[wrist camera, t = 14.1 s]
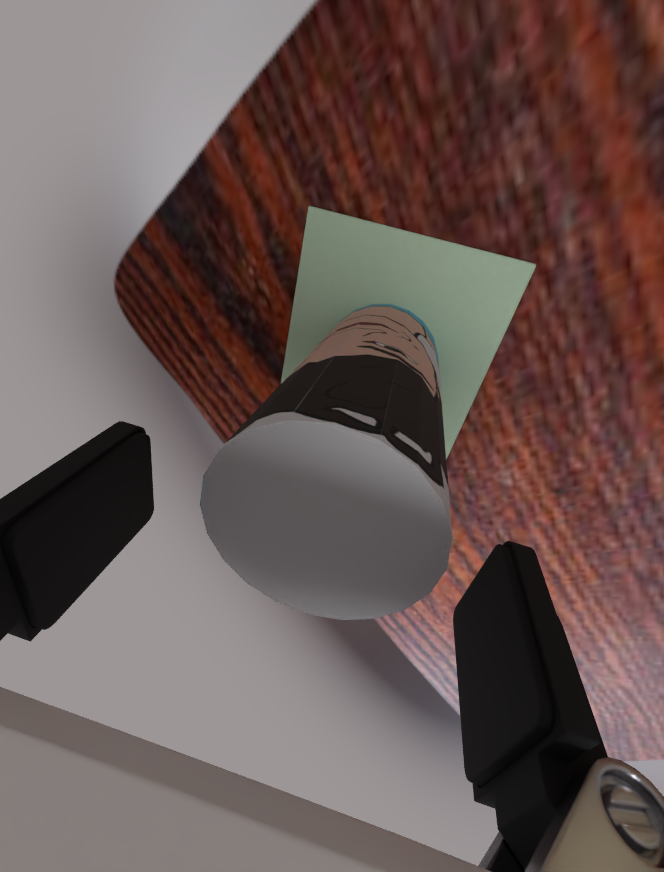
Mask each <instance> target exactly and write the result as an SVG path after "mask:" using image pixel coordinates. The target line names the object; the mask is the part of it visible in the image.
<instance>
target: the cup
mask: <svg viewBox="0 0 664 872" xmlns="http://www.w3.org/2000/svg"><path fill="white" fill-rule="evenodd" d="M200 506H201V510H202V514H203V518H204V522H205V526H206V530H207V534H208V535H209V537H210V538H211V540H212V542H213V543H214V545H215V547H216V548H217V550H218V551H219V553H220V555H221V557H222V558H223V560H224V561H225V562H226V563H227V564H228V565H229V566H230V567H231V568H232V569H233V570H234V571H235V572H236V573H237V574H238V575H239V576H240V577H241V578H242V579H243V580H244V581H245V582H246V583H248V584H249V585H251V586H252V587H254V588H256V589H257V590H259V591H260V592H262V593H263V594H265V595H266V596H268V597H270V598H271V599H273V600H275V601H276V602H279V603H281V604H284V605H287V606H289V607H291V608H294V609H297V610H299V611H302V612H304V613H307V614H312V615H317V616H323V617H329V618H334V619H339V620H346V619H374V618H378V617H382V616H385V615H389V614H392V613H396V612H399V611H403V610H405V609H407V608H408V607H410V606H411V605H413V604H414V603H416V602H417V601H419V600H420V599H422V598H423V597H425V596H426V595H428V594H429V593H430V592H431V591H432V590H433V588H434V587H435V585H436V584H437V582H438V581H439V579H440V578H441V576H442V575H443V574H444V572H445V571H446V569H447V566H448V560H449V554H450V548H451V542H452V527H451V514H450V502H449V489H448V476H447V464H446V451H445V438H444V426H443V413H442V400H441V388H440V375H439V362H438V353H437V349H436V345H435V340H434V337H433V335H432V334H431V332H430V331H429V329H428V328H427V326H426V324H425V323H424V322H423V321H422V320H421V319H419V318H418V317H417V316H416V315H414V314H413V313H412V312H411V311H409V310H406V309H403V308H401V307H398V306H395V305H392V304H372V305H369V306H366V307H363V308H360V309H357V310H355V311H353V312H352V313H351V314H349V315H348V316H347V317H345V318H344V319H343V320H341V321H340V322H339V323H338V324H337V325H336V327H335V328H334V329H333V330H332V331H331V332H330V333H329V334H328V335H327V336H326V337H325V338H324V339H323V340H322V341H321V342H320V343H319V345H318V346H317V347H316V348H315V349H314V350H313V351H312V352H311V353H310V354H309V355H308V356H307V357H306V358H305V359H304V360H303V361H302V363H301V364H300V365H299V366H298V367H297V368H296V369H295V370H294V371H293V372H292V373H291V374H290V375H289V376H288V377H287V378H286V379H285V381H284V382H283V383H282V384H281V385H280V386H279V387H278V388H277V389H276V390H275V391H274V392H273V393H272V394H271V395H270V396H269V397H268V399H267V400H266V401H265V402H264V403H263V404H262V405H261V406H260V407H259V408H258V409H257V410H256V411H255V412H254V413H253V414H252V415H251V417H250V418H249V419H248V420H247V421H246V422H245V423H244V424H243V425H242V426H241V427H240V428H239V429H238V430H237V431H236V432H235V433H234V435H233V436H232V437H231V438H230V439H229V440H228V441H227V442H226V443H225V444H224V445H223V446H222V447H221V448H220V449H219V451H218V453H217V454H216V456H215V458H214V459H213V461H212V462H211V464H210V466H209V467H208V469H207V471H206V472H205V474H204V477H203V484H202V493H201V500H200Z"/></svg>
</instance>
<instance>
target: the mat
mask: <svg viewBox="0 0 664 872" xmlns="http://www.w3.org/2000/svg"><path fill="white" fill-rule="evenodd" d="M535 267H536V264H534V263H530V262H527V261H523V260H519V259H515V258H511V257H507V256H503V255H499V254H495V253H492V252H488V251H484V250H480V249H476V248H472V247H468V246H464V245H460V244H457V243H453V242H449V241H445V240H441V239H437V238H433V237H429V236H425V235H422V234H418V233H414V232H410V231H406V230H402V229H398V228H394V227H390V226H387V225H383V224H379V223H375V222H371V221H367V220H363V219H359V218H356V217H352V216H348V215H344V214H340V213H336V212H332V211H328V210H324V209H321V208H317V207H313V206H309V207H308V213H307V219H306V225H305V232H304V238H303V244H302V251H301V257H300V264H299V270H298V276H297V283H296V289H295V296H294V302H293V308H292V315H291V321H290V328H289V334H288V340H287V347H286V353H285V359H284V366H283V372H282V379H281V384H282V383H283V382H284V381H285V379H286V378H287V377H288V376H289V375H290V374H291V373H292V372H293V371H294V370H295V369H296V368H297V367H298V366H299V365H300V364H301V363H302V361H303V360H304V359H305V358H306V357H307V356H308V355H309V354H310V353H311V352H312V351H313V350H314V349H315V348H316V347H317V346H318V345H319V343H320V342H321V341H322V340H323V339H324V338H325V337H326V336H327V335H328V334H329V333H330V332H331V331H332V330H333V329H334V328H335V327H336V325H337V324H338V323H339V322H340V321H341V320H343V319H344V318H345V317H347V316H348V315H349V314H351V313H352V312H353V311H355V310H357V309H360V308H363V307H366V306H369V305H372V304H392V305H395V306H398V307H401V308H403V309H406V310H409V311H411V312H412V313H413V314H414V315H416V316H417V317H418V318H419V319H421V320H422V321H423V322H424V323H425V324H426V326H427V328H428V329H429V331H430V332H431V334H432V335H433V337H434V340H435V345H436V349H437V353H438V362H439V375H440V388H441V400H442V413H443V426H444V438H445V451H446V459H447V457H448V455H449V453H450V450H451V448H452V446H453V444H454V442H455V440H456V438H457V435H458V433H459V431H460V429H461V427H462V425H463V422H464V420H465V418H466V416H467V414H468V412H469V410H470V407H471V405H472V403H473V401H474V399H475V397H476V394H477V392H478V390H479V388H480V386H481V384H482V381H483V379H484V377H485V375H486V373H487V371H488V369H489V366H490V364H491V362H492V360H493V358H494V356H495V353H496V351H497V349H498V347H499V345H500V343H501V341H502V338H503V336H504V334H505V332H506V330H507V328H508V325H509V323H510V321H511V319H512V317H513V315H514V312H515V310H516V308H517V306H518V304H519V302H520V300H521V297H522V295H523V293H524V291H525V289H526V287H527V284H528V282H529V280H530V278H531V276H532V274H533V272H534V269H535Z"/></svg>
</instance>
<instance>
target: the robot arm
mask: <svg viewBox="0 0 664 872" xmlns="http://www.w3.org/2000/svg"><path fill="white" fill-rule="evenodd" d="M153 511H154V500H153V481H152V463H151V444H150V437H149V436H148V435H146V432H145V430H144V428H142V427H139V426H136V425H133V424H129V423H126V422H118V423H116V424H114V425H113V426H111V427H109V428H108V429H106V430H105V431H103V432H102V433H100V434H99V435H97V436H96V437H94V438H93V439H91V440H90V441H88V442H87V443H85V444H83V445H82V446H80V447H79V448H77V449H76V450H74V451H73V452H71V453H70V454H68V455H67V456H65V457H64V458H62V459H61V460H59V461H58V462H56V463H54V464H53V465H51V466H50V467H49V468H47V469H45V470H44V471H42V472H41V473H39V474H38V475H36V476H35V477H33V478H32V479H30V480H29V481H27V482H25V483H24V484H22V485H21V486H19V487H18V488H17V489H15V490H13V491H12V492H10V493H9V494H7V495H6V496H4V497H3V498H1V499H0V640H1V639H2V638H3V637H4V636H5V635H6V634H7V633H9V634H12V635H14V636H17V637H20V638H22V639H25V640H28V641H31V640H32V639H33V638H34V637H35V636H36V635H37V634H38V633H39V632H40V631H41V630H42V629H44V630H45V629H48V628H49V627H51V626H52V625H53V624H54V623H55V622H56V621H57V620H58V619H59V618H60V617H61V616H62V615H63V613H65V611H66V610H67V609H68V608H69V607H70V606H71V605H72V604H73V603H74V602H75V600H76V599H77V598H78V597H79V596H80V595H81V594H82V593H83V592H84V591H85V590H86V589H87V587H88V586H89V585H90V584H91V583H92V582H93V581H94V580H95V579H96V578H97V576H99V574H100V573H101V572H102V571H103V570H104V569H105V568H106V567H107V566H108V565H109V564H110V562H111V561H112V560H113V559H114V558H115V557H116V556H117V555H118V554H119V553H120V552H121V550H122V549H123V548H124V547H125V546H126V545H127V544H128V543H129V542H130V541H131V540H132V538H133V537H134V536H135V535H136V534H137V533H138V532H139V531H140V529H142V528H143V526H144V525H145V524H146V523H147V522H148V521H149V520H150V518H151V516H152V514H153ZM453 625H454V638H455V651H456V664H457V677H458V690H459V703H460V716H461V729H462V742H463V755H464V768H465V774H466V777H467V779H468V781H470V782H472V783H473V792H474V801H476V802H478V803H481V804H484V805H487V806H490V807H492V808H495V809H496V817H497V825H498V830H499V833H498V834H497V836H496V838H495V839H494V841H493V843H492V844H491V846H490V847H489V849H488V851H487V853H486V854H485V856H484V857H483V859H482V861H481V862H480V864H479V866H476V865H473V864H471V863H468V862H466V861H463V860H461V859H458V858H456V857H453V856H451V855H448V854H446V853H443V852H441V851H438V850H436V849H433V848H431V847H428V846H426V845H423V844H421V843H418V842H416V841H413V840H411V839H408V838H406V837H403V836H401V835H398V834H395V833H393V832H390V831H387V830H384V829H382V828H379V827H376V826H374V825H371V824H369V823H366V822H363V821H361V820H358V819H355V818H352V817H350V816H347V815H345V814H342V813H340V812H337V811H334V810H331V809H329V808H326V807H323V806H321V805H318V804H316V803H313V802H310V801H308V800H305V799H302V798H300V797H297V796H294V795H292V794H289V793H287V792H284V791H281V790H279V789H276V788H273V787H271V786H268V785H265V784H262V783H260V782H257V781H254V780H252V779H249V778H246V777H244V776H241V775H238V774H236V773H233V772H230V771H228V770H225V769H222V768H219V767H217V766H214V765H211V764H209V763H206V762H203V761H201V760H198V759H195V758H193V757H190V756H187V755H184V754H182V753H179V752H176V751H173V750H171V749H168V748H166V747H163V746H160V745H157V744H155V743H152V742H149V741H147V740H144V739H141V738H138V737H136V736H133V735H130V734H128V733H125V732H122V731H120V730H117V729H114V728H111V727H108V726H106V725H103V724H100V723H98V722H95V721H92V720H89V719H87V718H84V717H81V716H78V715H76V714H73V713H70V712H68V711H65V710H62V709H59V708H57V707H54V706H51V705H48V704H45V703H43V702H40V701H37V700H35V699H32V698H29V697H26V696H24V695H21V694H18V693H15V692H13V691H10V690H7V689H5V688H1V687H0V872H664V796H662V794H661V793H660V792H659V791H658V789H657V788H656V787H655V786H654V785H653V784H652V783H651V782H650V781H649V780H648V779H647V778H646V777H645V776H644V775H642V774H641V773H640V772H639V771H637V770H636V769H635V768H633V767H632V766H630V765H628V764H626V763H625V762H623V761H621V760H617V759H613V758H609V757H608V756H607V753H606V750H605V747H604V744H603V741H602V738H601V735H600V733H599V730H598V727H597V724H596V721H595V718H594V715H593V712H592V710H591V707H590V704H589V701H588V698H587V695H586V692H585V689H584V686H583V684H582V681H581V678H580V675H579V672H578V669H577V666H576V663H575V660H574V658H573V655H572V652H571V649H570V646H569V643H568V640H567V637H566V634H565V632H564V629H563V626H562V623H561V621H560V619H559V617H558V616H557V614H556V611H555V609H554V606H553V603H552V600H551V597H550V594H549V591H548V588H547V585H546V582H545V579H544V576H543V573H542V570H541V567H540V565H539V562H538V559H537V556H536V553H535V551H534V550H533V549H532V548H530V547H527V546H524V545H520V544H517V543H514V542H511V541H507V542H505V543H504V544H503V545H501V544H498V545H496V546H495V548H494V549H493V551H492V552H491V554H490V555H489V557H488V558H487V560H486V561H485V563H484V565H483V566H482V568H481V569H480V571H479V572H478V574H477V575H476V577H475V578H474V580H473V581H472V583H471V584H470V586H469V587H468V589H467V591H466V592H465V594H464V595H463V597H462V598H461V600H460V601H459V603H458V604H457V606H456V608H455V611H454V616H453Z"/></svg>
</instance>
